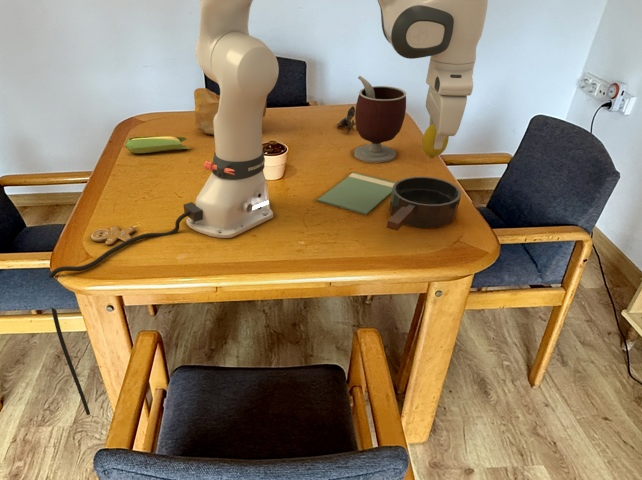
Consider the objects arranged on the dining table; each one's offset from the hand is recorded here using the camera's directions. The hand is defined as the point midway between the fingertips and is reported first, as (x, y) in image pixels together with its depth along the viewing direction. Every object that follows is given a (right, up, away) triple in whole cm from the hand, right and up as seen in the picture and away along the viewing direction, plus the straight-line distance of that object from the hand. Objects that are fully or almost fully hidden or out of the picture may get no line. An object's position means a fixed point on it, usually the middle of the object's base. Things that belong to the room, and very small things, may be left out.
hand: (434, 142), depth 119 cm
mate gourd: (-5, +13, +40) cm, 43 cm away
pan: (+1, -13, +12) cm, 17 cm away
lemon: (0, -3, +2) cm, 4 cm away
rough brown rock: (-48, +28, +59) cm, 81 cm away
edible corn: (-70, +15, +45) cm, 85 cm away
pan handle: (-7, -17, +1) cm, 18 cm away
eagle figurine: (-10, +27, +56) cm, 63 cm away
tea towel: (-13, -5, +21) cm, 25 cm away
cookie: (-74, -20, +6) cm, 77 cm away
